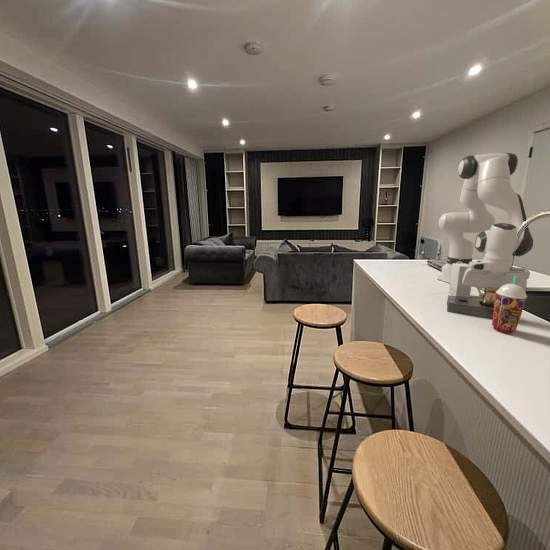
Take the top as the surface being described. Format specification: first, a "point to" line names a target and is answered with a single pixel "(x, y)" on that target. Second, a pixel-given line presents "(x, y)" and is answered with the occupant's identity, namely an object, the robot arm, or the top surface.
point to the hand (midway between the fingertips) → (489, 299)
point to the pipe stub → (489, 297)
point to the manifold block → (469, 307)
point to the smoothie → (508, 307)
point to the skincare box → (459, 281)
